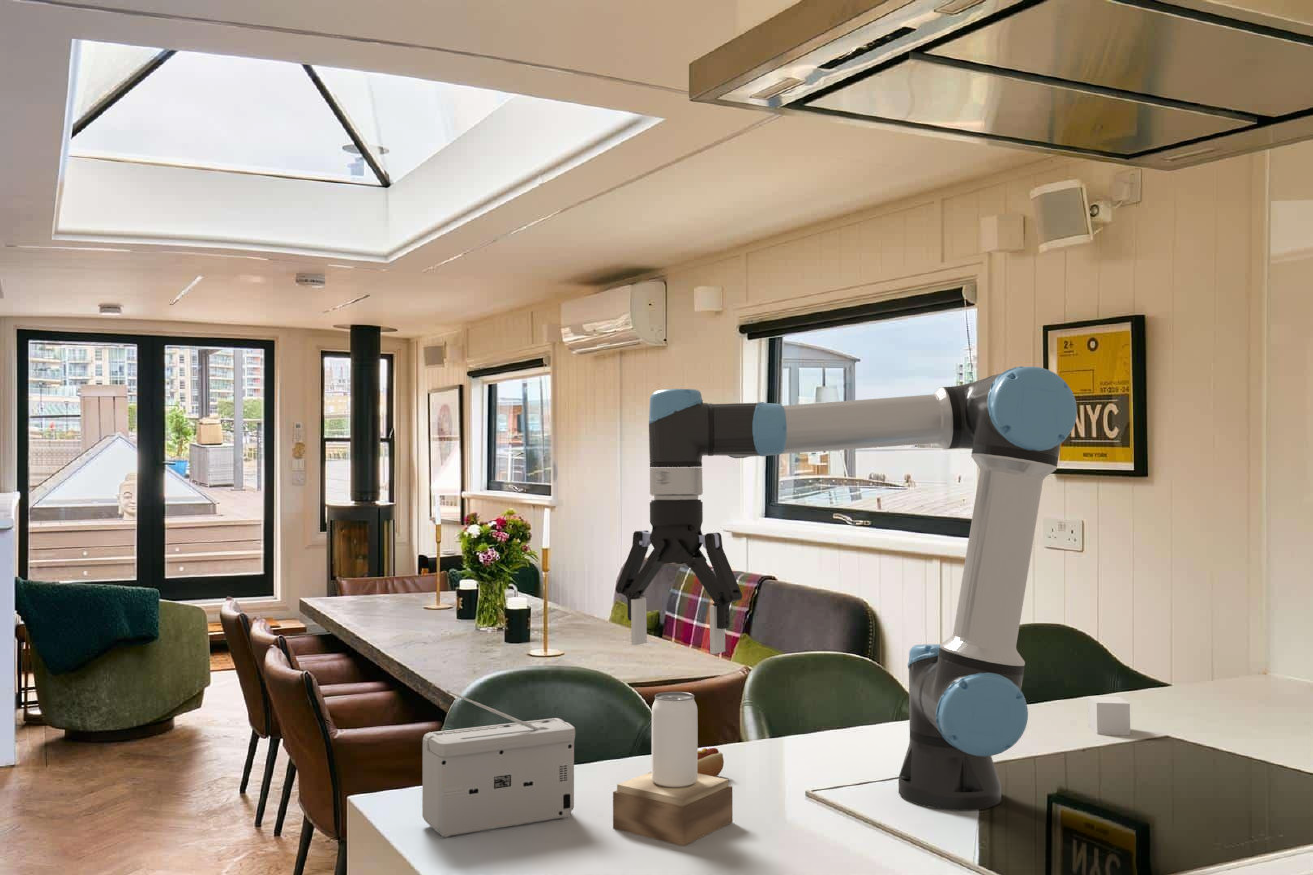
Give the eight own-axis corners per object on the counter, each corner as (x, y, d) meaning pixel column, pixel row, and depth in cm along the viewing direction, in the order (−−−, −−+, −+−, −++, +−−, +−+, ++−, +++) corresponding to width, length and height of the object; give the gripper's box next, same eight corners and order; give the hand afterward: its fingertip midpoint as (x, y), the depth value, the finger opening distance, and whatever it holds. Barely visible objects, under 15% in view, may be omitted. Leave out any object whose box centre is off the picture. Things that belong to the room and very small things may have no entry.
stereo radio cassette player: (558, 803, 159) (558, 669, 160) (580, 819, 151) (580, 678, 152) (420, 825, 149) (421, 682, 150) (436, 843, 142) (436, 692, 143)
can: (693, 789, 145) (693, 701, 146) (647, 786, 146) (647, 699, 147) (701, 776, 151) (701, 692, 152) (656, 774, 153) (657, 690, 153)
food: (680, 798, 162) (680, 765, 162) (651, 792, 165) (651, 759, 165) (730, 777, 173) (730, 746, 173) (702, 771, 176) (702, 741, 176)
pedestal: (732, 822, 150) (732, 779, 150) (683, 845, 140) (683, 800, 141) (664, 806, 157) (664, 765, 157) (613, 828, 148) (613, 784, 148)
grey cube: (1097, 734, 200) (1096, 702, 201) (1088, 727, 206) (1087, 696, 207) (1130, 735, 200) (1129, 703, 200) (1120, 728, 206) (1119, 696, 206)
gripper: (591, 497, 155) (592, 643, 155) (736, 499, 141) (738, 660, 140) (623, 496, 161) (624, 637, 161) (765, 497, 147) (767, 652, 146)
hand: (677, 648), depth 150 cm, fingers open, 13 cm apart
